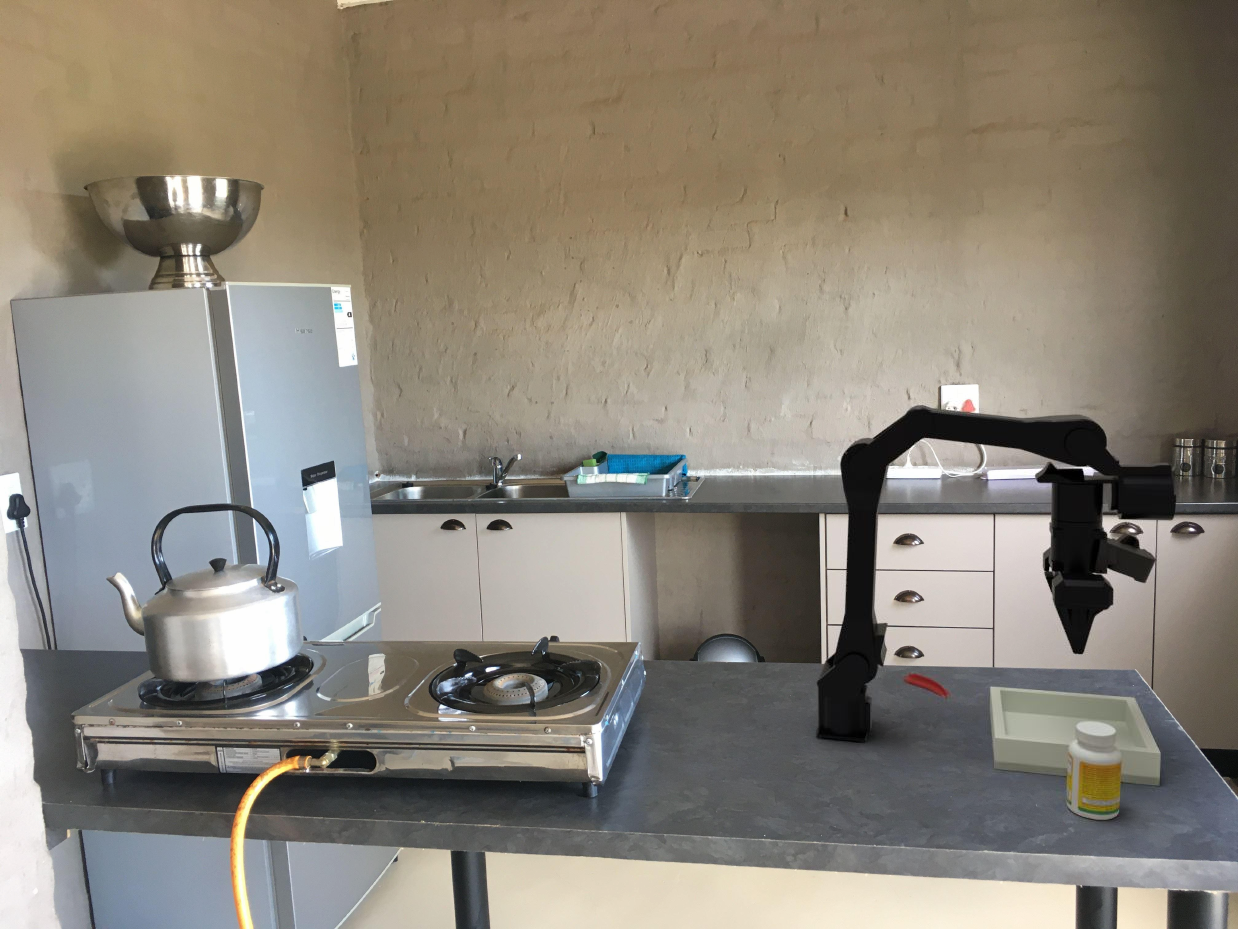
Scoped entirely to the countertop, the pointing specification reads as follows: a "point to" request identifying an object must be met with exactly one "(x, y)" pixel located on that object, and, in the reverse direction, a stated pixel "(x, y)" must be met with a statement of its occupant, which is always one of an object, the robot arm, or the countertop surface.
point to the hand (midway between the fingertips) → (1074, 642)
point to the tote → (1067, 731)
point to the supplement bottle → (1094, 772)
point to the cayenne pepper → (926, 684)
